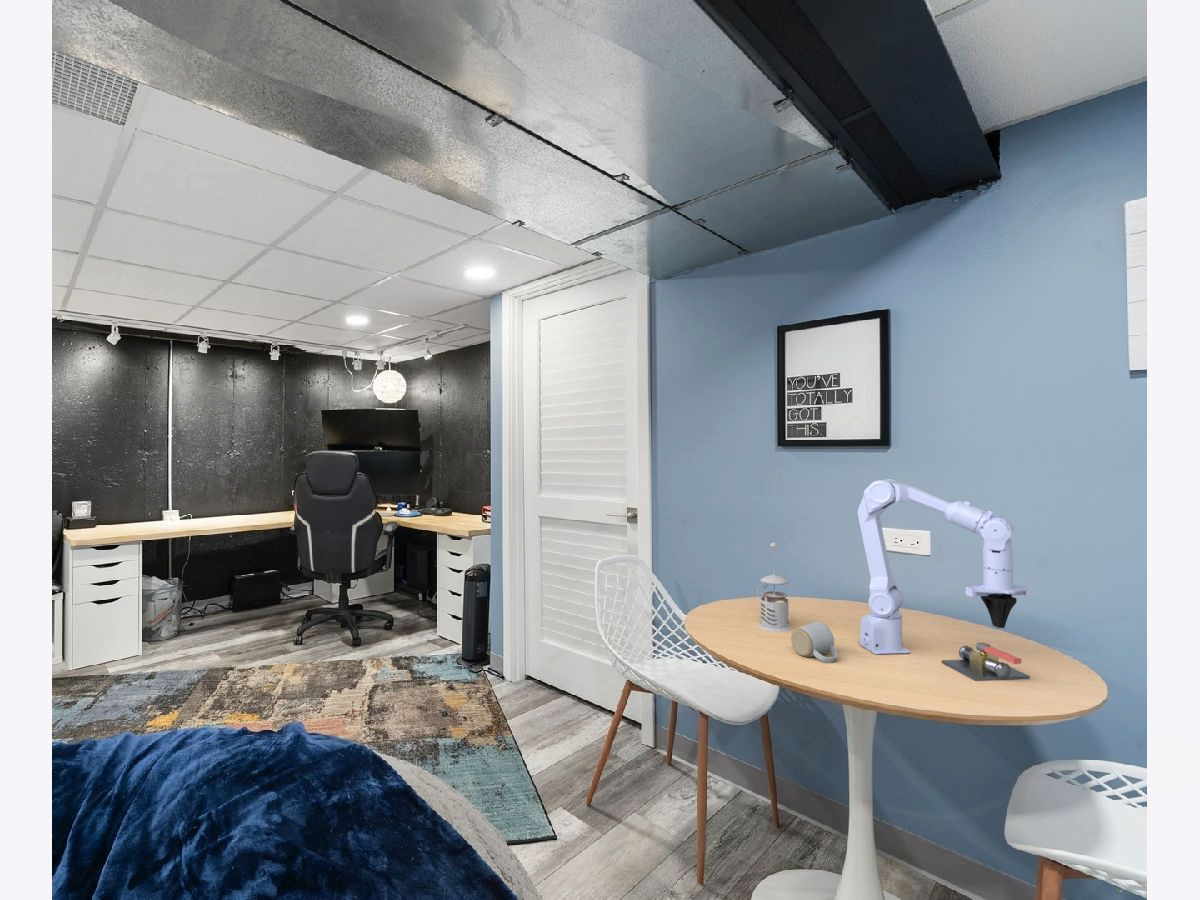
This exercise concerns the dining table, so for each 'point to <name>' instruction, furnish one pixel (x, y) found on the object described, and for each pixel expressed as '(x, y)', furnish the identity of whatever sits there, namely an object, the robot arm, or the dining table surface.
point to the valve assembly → (983, 666)
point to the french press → (774, 605)
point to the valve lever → (998, 653)
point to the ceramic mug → (814, 641)
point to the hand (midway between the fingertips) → (998, 626)
